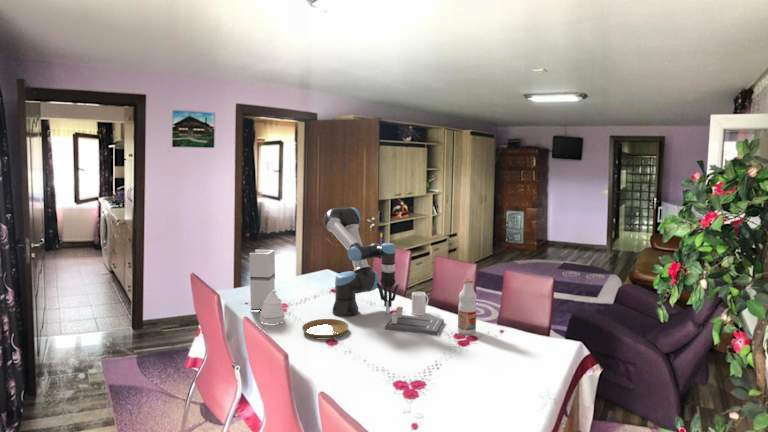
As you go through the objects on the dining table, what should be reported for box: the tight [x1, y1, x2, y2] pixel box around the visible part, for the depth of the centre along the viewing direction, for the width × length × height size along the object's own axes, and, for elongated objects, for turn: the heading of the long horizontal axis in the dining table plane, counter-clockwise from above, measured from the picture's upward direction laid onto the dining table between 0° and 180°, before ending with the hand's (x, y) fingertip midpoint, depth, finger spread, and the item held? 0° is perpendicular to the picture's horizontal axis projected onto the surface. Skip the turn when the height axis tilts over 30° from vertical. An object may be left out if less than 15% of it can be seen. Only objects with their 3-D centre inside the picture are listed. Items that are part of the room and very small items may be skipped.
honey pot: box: [260, 289, 285, 325], centre depth 290 cm, size 13×13×18 cm
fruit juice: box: [457, 278, 477, 335], centre depth 275 cm, size 9×9×28 cm
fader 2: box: [396, 306, 404, 318], centre depth 292 cm, size 3×3×5 cm
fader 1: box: [391, 311, 398, 324], centre depth 283 cm, size 3×3×5 cm
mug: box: [410, 291, 429, 317], centre depth 307 cm, size 12×8×12 cm
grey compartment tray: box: [384, 314, 445, 336], centre depth 285 cm, size 28×20×2 cm
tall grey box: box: [249, 249, 276, 311], centre depth 309 cm, size 11×11×35 cm
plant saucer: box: [301, 318, 349, 339], centre depth 275 cm, size 24×24×3 cm
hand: (387, 312), depth 294 cm, fingers closed
